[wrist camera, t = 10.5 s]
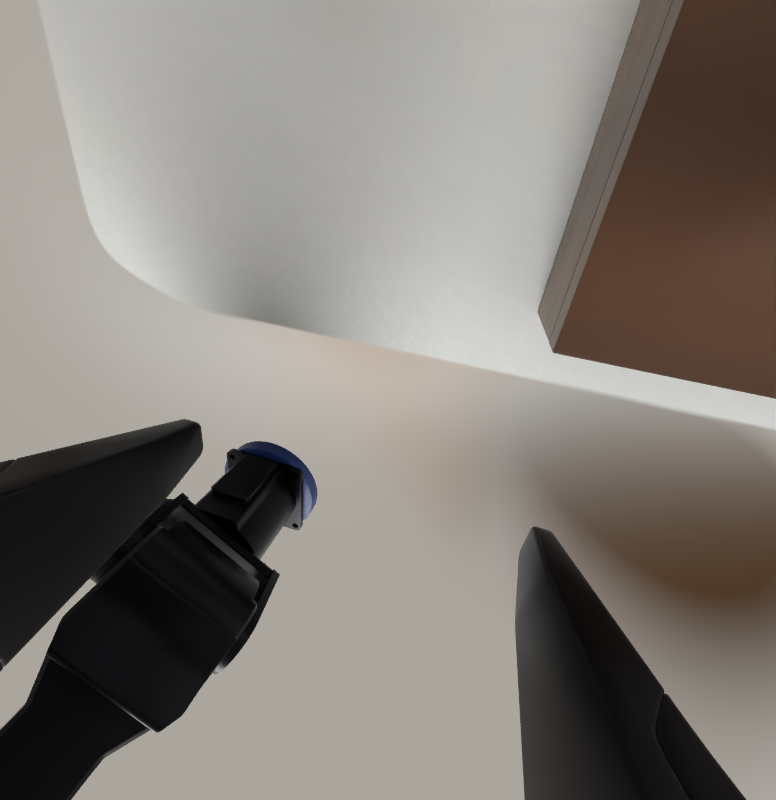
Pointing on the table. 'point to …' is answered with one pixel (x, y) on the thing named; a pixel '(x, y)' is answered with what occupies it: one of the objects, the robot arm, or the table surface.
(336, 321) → the table surface
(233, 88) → the table surface
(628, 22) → the table surface
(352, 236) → the table surface
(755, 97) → the dark wooden block
